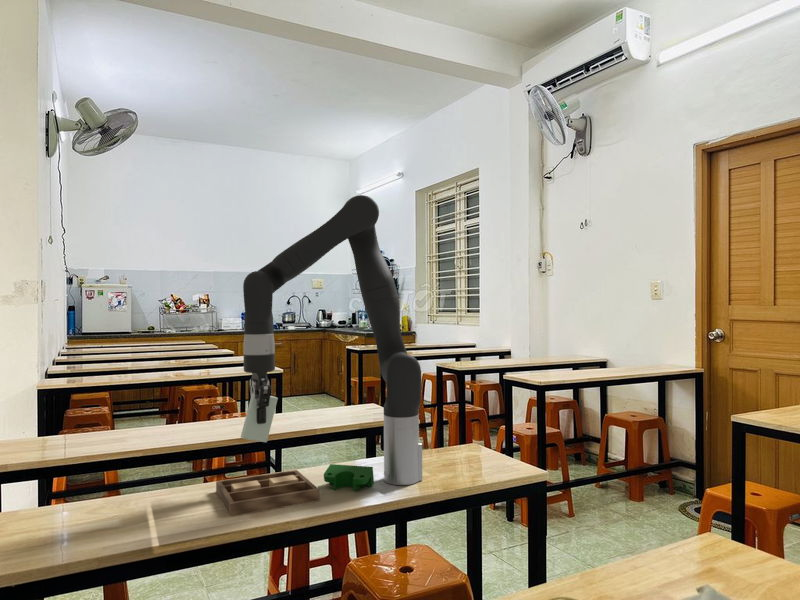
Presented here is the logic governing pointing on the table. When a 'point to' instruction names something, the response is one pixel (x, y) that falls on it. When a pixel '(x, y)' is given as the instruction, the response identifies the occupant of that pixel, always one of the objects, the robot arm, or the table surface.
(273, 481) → the offcut
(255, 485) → the offcut
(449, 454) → the table surface
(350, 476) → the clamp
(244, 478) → the brown wooden compartment tray
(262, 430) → the sheet
